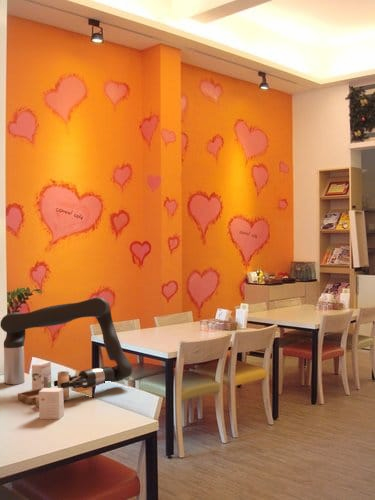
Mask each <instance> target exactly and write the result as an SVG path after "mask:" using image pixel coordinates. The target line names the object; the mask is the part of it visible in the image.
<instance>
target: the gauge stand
mask: <svg viewBox="0 0 375 500" xmlns="http://www.w3.org/2000/svg"><path fill="white" fill-rule="evenodd" d="M44 388H48V376H45V377H44ZM35 406H36V407H37V408H39V396H36V404H35Z"/></svg>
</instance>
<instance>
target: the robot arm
mask: <svg viewBox="0 0 375 500" xmlns="http://www.w3.org/2000/svg"><path fill="white" fill-rule="evenodd" d="M90 317H92V318H93V317H94V318H95V319H96V321H97V322H98V324H99V326H100V330H101V335H102V340H103V341H102V342H103V345H104V348H105V351H106V354H107V357H108V359H109V360H110V361H114V362H115V364H116V365H115V366H111V367H110V366H103V367H96V368H95V367H94V368H91V369H90V368H89V369H84V370H81V371H80V372H79V373H78V375H70V374H69V382H64V383H61V384H60V386H61V388H68V387H69V389H71V388H72V389H78V388H83V389H88V388H91V387H92V388H93V387H97V386H99V385H102V384H103V383H104V384H106V383H105V381H111V382H110V383H116V382H121V381H123V380H125V379H127V378H129V377H130V376H131V375H132V374H133V366H132V364H131V362H130V360H129V359H128V357H127V356H126V354H125V353H124V351H123V348H122V345H121V341H120V340H119V337H118V333H117V332H116V329H115V326H114V325H115V324H114V322H113V316H112V311H111V307H110V303H109V302H108V300H106V299H105V298H102V297H98V296H97V297H93V298H89V299H86V300H83V301H79V302H70V303H62V304H56V305H50V306H45V307H42V308H39V309H35V310H33V311H30V312H25V313H24V312H23V313H21V312H19V311H18V312H17V311H15V312H11V313H8V314H6V315H4V316H3V317H2V318H1V320H0V328H1V329H2V330H3V332H5V333H6V335H5V339H4V341H3V382H4V384H5V383H6V384H5V385H9V384H13V385H20V384H23V383H24V382H25V340H26V329H27V330H28V329H32V328H44V327H52V326H53V327H54V326H60V325H63V324H66V323H70V322H72V321H73V320H77V319H81V318H90ZM53 386H54V387H58V379H57V380H54V381H53Z"/></svg>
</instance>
